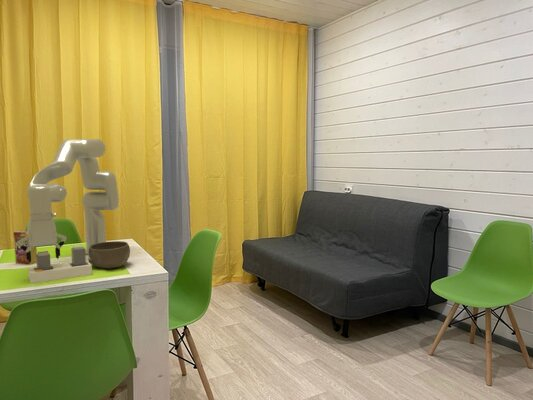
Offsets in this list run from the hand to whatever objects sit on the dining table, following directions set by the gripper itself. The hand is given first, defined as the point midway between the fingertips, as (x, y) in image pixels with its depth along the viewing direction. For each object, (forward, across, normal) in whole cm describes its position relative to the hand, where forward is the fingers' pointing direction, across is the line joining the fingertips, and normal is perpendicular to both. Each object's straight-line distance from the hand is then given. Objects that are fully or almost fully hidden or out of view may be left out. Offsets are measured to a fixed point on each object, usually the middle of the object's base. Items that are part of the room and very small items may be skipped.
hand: (43, 259), depth 163 cm
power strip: (+8, -6, +1) cm, 10 cm away
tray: (+8, -3, -12) cm, 15 cm away
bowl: (+9, -27, -6) cm, 29 cm away
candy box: (+9, +4, -31) cm, 33 cm away
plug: (+7, 0, 0) cm, 7 cm away
